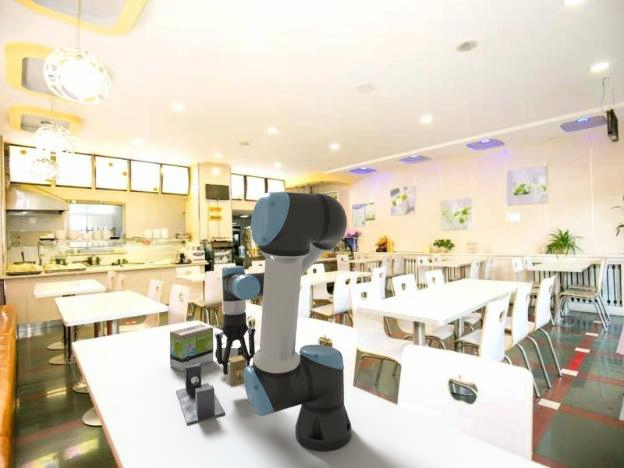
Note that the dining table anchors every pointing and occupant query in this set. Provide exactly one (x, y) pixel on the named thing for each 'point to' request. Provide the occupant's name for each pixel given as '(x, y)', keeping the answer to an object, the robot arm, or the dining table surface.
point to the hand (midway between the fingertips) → (237, 381)
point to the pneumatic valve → (232, 350)
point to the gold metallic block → (237, 370)
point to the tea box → (191, 346)
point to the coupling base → (198, 397)
